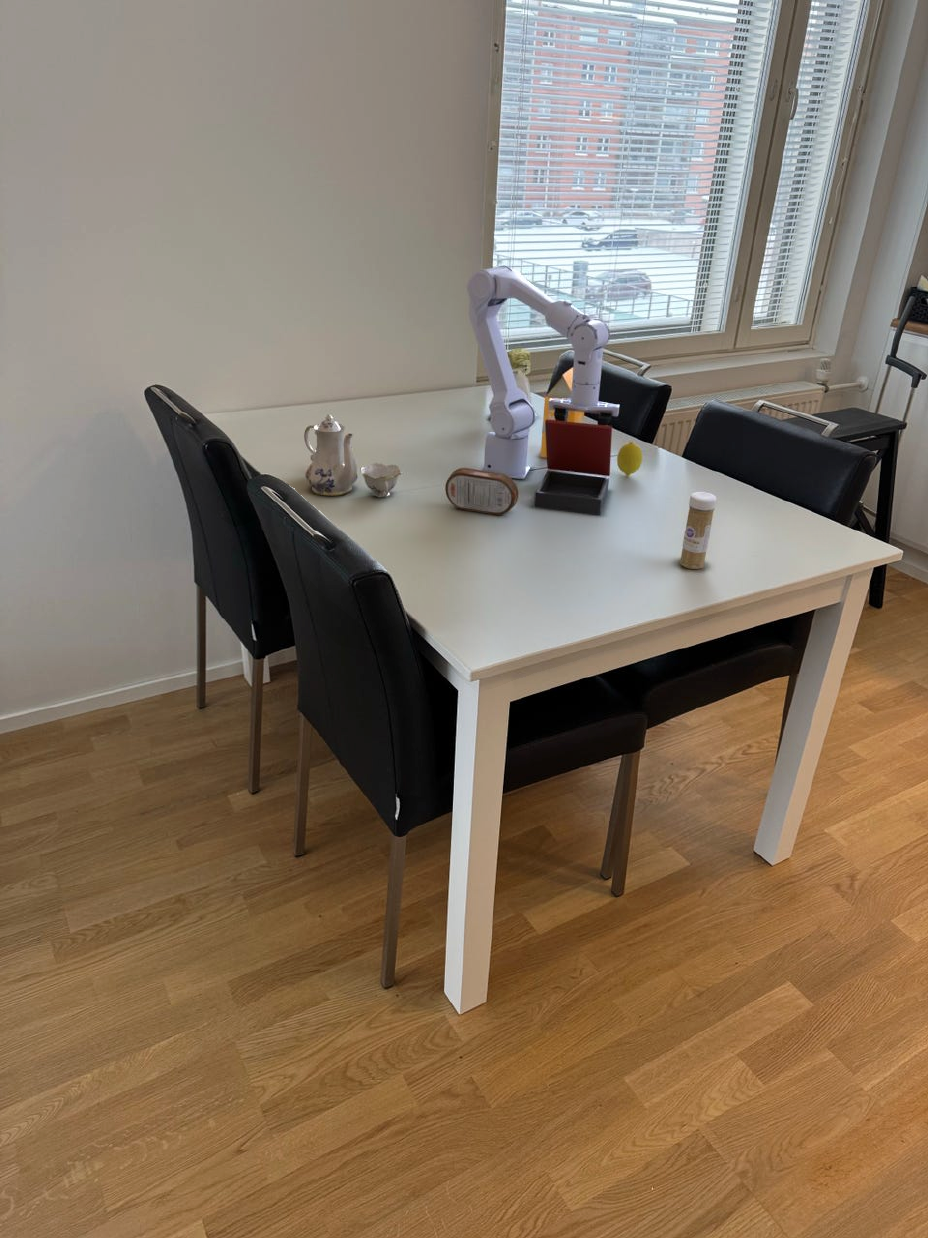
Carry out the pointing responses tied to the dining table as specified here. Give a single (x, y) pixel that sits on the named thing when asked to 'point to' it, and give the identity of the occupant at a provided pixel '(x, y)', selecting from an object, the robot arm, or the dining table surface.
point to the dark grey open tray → (572, 492)
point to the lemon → (629, 458)
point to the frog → (521, 369)
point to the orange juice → (557, 392)
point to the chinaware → (342, 464)
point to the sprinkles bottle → (697, 530)
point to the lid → (578, 447)
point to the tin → (481, 491)
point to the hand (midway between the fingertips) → (580, 445)
